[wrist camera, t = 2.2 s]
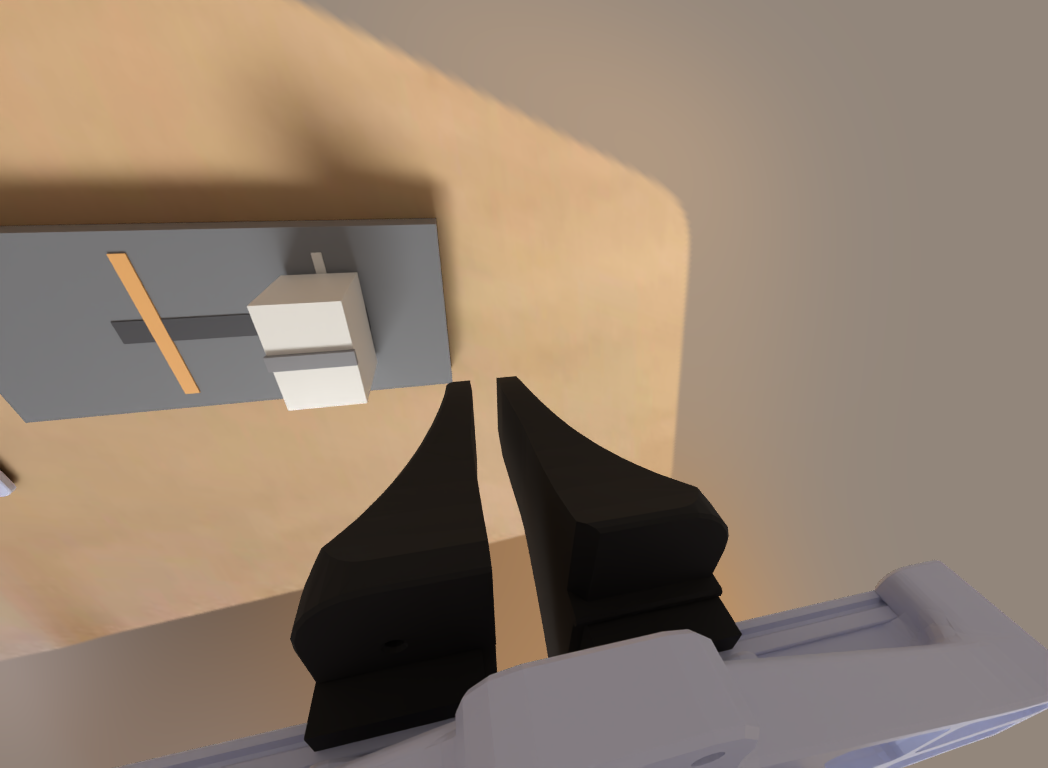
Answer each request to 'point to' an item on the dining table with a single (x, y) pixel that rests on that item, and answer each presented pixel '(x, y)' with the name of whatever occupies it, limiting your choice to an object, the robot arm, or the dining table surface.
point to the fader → (316, 339)
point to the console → (197, 309)
